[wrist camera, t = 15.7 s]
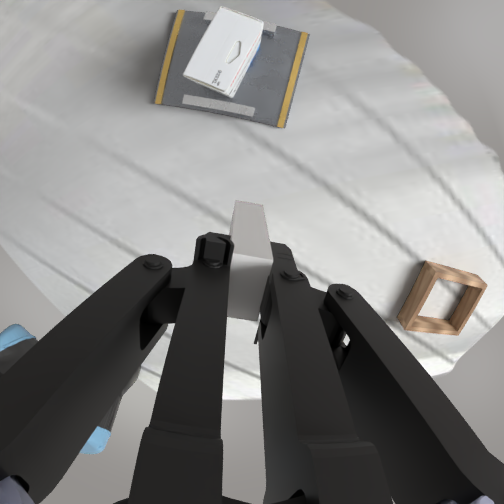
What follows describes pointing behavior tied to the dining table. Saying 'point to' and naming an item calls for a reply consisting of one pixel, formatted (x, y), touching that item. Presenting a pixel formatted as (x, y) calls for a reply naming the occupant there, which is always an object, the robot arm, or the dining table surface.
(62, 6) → the dining table surface
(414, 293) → the stand
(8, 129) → the dining table surface
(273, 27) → the grey tray
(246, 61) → the ink box
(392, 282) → the dining table surface
